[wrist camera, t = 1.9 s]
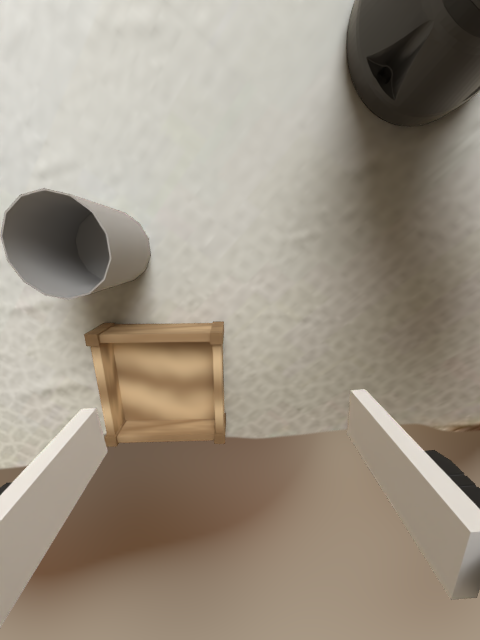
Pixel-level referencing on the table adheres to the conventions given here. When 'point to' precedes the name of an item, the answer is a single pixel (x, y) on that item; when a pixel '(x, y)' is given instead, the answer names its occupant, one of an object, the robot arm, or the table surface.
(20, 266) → the cup
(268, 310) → the table surface
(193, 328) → the crate
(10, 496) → the robot arm
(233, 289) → the table surface
